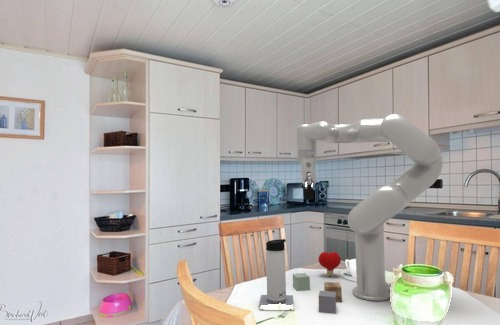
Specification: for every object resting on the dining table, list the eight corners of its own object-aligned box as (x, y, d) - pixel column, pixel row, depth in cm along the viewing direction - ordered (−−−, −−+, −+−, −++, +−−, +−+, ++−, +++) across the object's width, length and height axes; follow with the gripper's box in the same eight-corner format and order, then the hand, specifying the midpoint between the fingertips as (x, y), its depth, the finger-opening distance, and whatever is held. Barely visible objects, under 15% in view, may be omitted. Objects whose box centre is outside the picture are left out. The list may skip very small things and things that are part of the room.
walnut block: (339, 297, 111) (338, 282, 111) (341, 302, 106) (341, 287, 106) (324, 297, 111) (324, 282, 111) (326, 302, 106) (326, 287, 106)
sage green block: (305, 286, 123) (305, 272, 123) (309, 290, 118) (309, 276, 118) (292, 287, 122) (292, 273, 123) (297, 291, 117) (296, 277, 118)
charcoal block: (336, 307, 101) (335, 291, 102) (335, 314, 97) (335, 297, 97) (320, 306, 103) (319, 290, 103) (319, 312, 98) (318, 295, 98)
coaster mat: (292, 298, 110) (292, 295, 110) (294, 310, 99) (294, 307, 99) (261, 297, 111) (261, 294, 111) (258, 310, 100) (258, 307, 100)
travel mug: (286, 304, 102) (284, 241, 103) (265, 303, 103) (264, 240, 104) (288, 297, 108) (286, 237, 109) (268, 296, 109) (267, 237, 110)
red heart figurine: (320, 278, 132) (319, 254, 132) (317, 274, 138) (316, 250, 139) (343, 278, 131) (342, 253, 132) (339, 273, 138) (338, 250, 139)
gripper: (319, 153, 118) (320, 199, 117) (314, 157, 135) (315, 197, 134) (298, 154, 119) (300, 200, 118) (296, 157, 136) (297, 198, 135)
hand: (308, 198), depth 126 cm, fingers open, 9 cm apart
